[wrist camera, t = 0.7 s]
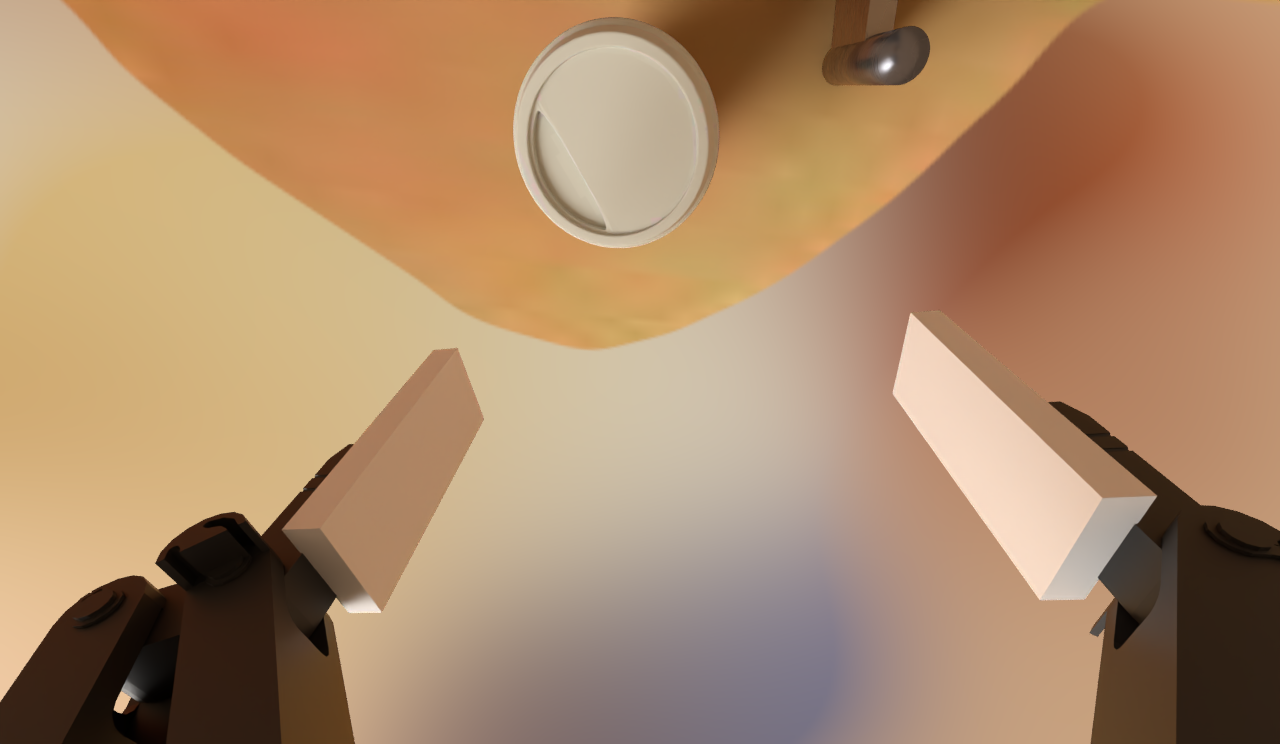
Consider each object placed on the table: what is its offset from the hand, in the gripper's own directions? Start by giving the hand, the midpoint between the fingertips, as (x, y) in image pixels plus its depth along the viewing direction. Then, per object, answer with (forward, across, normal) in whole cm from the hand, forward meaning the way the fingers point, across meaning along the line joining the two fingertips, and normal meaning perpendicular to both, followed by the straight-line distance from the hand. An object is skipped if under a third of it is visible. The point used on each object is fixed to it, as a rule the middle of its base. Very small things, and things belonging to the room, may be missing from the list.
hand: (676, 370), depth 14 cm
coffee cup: (+20, -2, +5) cm, 21 cm away
